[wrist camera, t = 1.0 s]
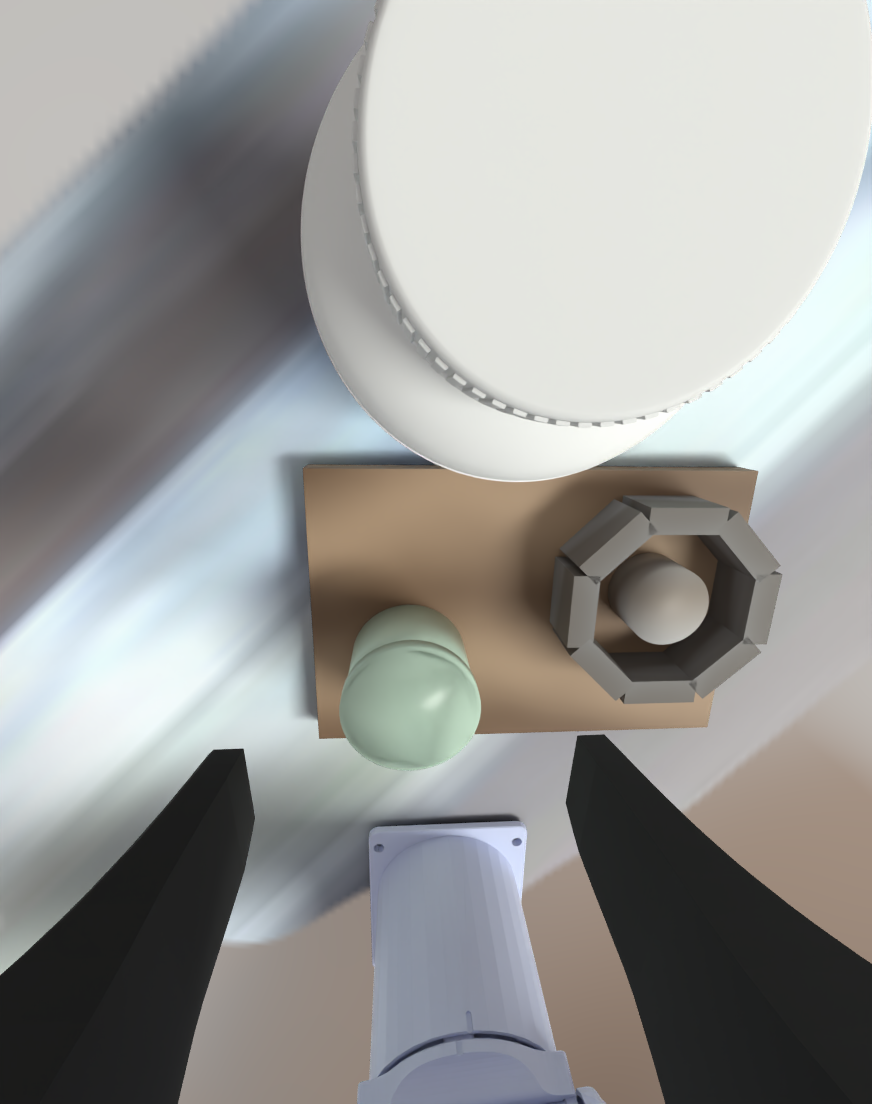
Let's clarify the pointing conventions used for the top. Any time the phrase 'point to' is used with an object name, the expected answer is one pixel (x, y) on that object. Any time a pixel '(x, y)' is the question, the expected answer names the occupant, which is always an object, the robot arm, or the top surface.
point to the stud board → (548, 586)
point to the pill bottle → (575, 213)
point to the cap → (409, 690)
